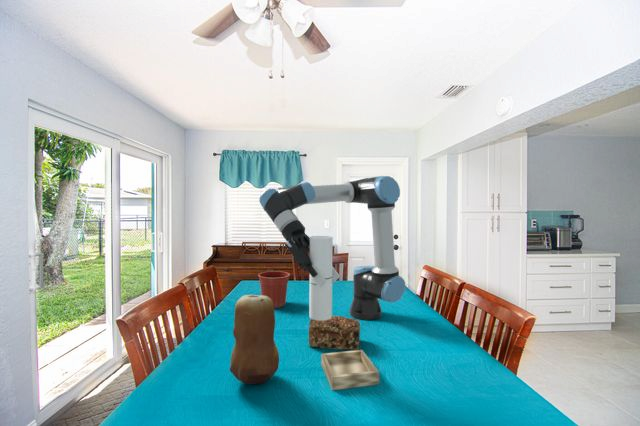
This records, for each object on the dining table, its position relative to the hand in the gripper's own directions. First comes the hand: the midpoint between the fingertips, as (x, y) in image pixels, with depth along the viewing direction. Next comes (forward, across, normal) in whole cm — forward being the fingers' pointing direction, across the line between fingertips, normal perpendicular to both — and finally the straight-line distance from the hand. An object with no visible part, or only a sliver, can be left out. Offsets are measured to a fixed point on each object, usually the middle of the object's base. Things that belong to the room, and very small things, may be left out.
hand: (330, 281), depth 92 cm
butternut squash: (+9, +17, -31) cm, 36 cm away
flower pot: (-21, -38, -62) cm, 75 cm away
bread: (+14, -18, -27) cm, 35 cm away
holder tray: (+24, -2, -16) cm, 29 cm away
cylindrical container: (+6, 0, -11) cm, 12 cm away
